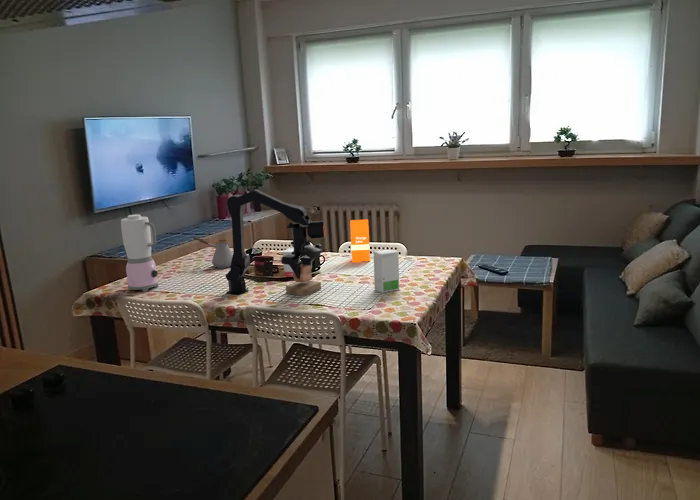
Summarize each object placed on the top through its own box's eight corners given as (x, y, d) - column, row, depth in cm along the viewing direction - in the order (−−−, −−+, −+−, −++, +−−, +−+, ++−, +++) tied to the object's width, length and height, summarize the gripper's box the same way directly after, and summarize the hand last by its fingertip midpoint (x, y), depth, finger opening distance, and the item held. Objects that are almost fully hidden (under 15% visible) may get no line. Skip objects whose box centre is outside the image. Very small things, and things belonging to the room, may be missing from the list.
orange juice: (370, 261, 268) (368, 220, 264) (351, 262, 269) (349, 221, 264) (369, 257, 276) (368, 218, 272) (352, 258, 276) (350, 218, 272)
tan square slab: (286, 293, 224) (285, 285, 223) (301, 286, 232) (301, 279, 231) (306, 296, 218) (305, 288, 218) (321, 289, 226) (320, 282, 226)
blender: (122, 291, 238) (111, 217, 231) (141, 283, 249) (131, 213, 243) (153, 293, 233) (143, 217, 226) (170, 285, 244) (161, 213, 237)
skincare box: (382, 293, 216) (380, 254, 213) (373, 289, 222) (372, 251, 219) (400, 289, 220) (399, 251, 217) (391, 285, 226) (390, 248, 222)
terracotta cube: (294, 281, 223) (293, 266, 222) (301, 278, 227) (300, 264, 226) (304, 282, 221) (303, 268, 219) (311, 279, 225) (310, 265, 223)
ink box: (294, 278, 246) (292, 251, 243) (284, 277, 247) (282, 251, 244) (300, 273, 254) (299, 247, 251) (290, 272, 255) (288, 247, 252)
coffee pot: (239, 263, 278) (236, 234, 275) (230, 269, 267) (227, 238, 264) (200, 263, 283) (197, 234, 280) (189, 269, 272) (186, 239, 269)
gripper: (301, 244, 208) (304, 285, 212) (330, 235, 224) (332, 273, 227) (278, 242, 214) (281, 281, 218) (307, 233, 230) (310, 270, 233)
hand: (302, 276), depth 224 cm, fingers closed on terracotta cube, 5 cm apart
